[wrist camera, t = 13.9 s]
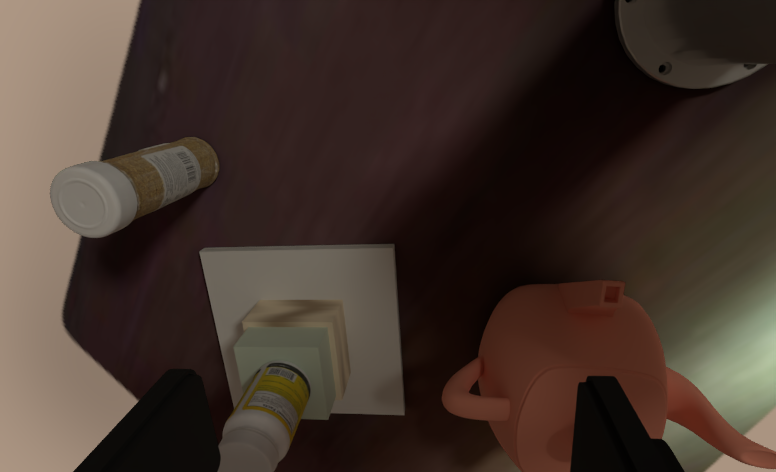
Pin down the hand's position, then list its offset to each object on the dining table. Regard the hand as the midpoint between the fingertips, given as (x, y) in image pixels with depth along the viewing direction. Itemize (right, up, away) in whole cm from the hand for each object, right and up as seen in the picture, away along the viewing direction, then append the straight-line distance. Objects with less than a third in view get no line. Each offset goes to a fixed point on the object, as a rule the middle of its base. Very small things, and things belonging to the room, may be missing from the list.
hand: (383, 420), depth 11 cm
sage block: (-8, -6, +28) cm, 30 cm away
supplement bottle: (-8, -7, +26) cm, 28 cm away
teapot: (+16, -4, +30) cm, 34 cm away
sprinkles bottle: (-17, +11, +29) cm, 35 cm away
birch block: (-8, -5, +32) cm, 33 cm away
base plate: (-8, -5, +33) cm, 34 cm away
